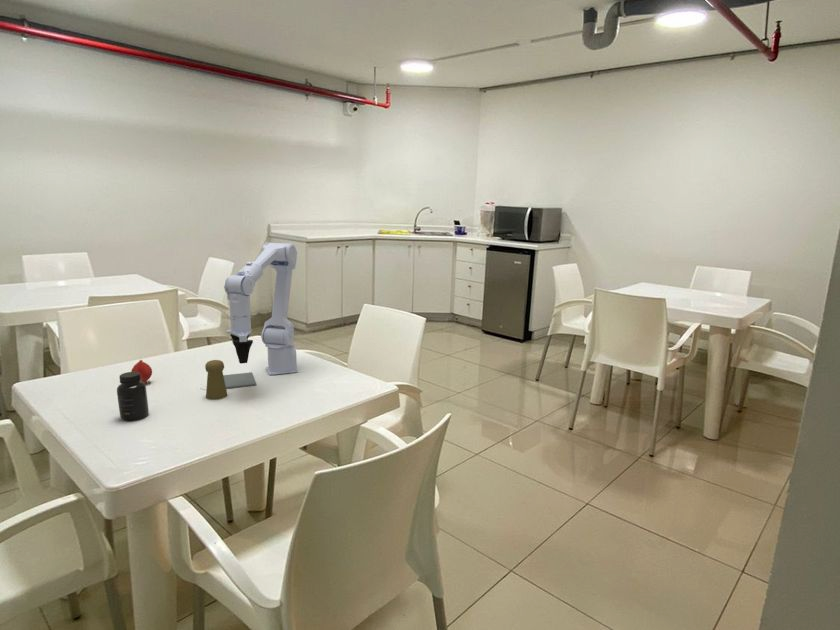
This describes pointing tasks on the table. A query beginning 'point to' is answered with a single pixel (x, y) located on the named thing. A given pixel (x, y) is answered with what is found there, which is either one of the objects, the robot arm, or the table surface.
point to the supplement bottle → (132, 397)
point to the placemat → (239, 380)
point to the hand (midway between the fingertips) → (242, 359)
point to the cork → (215, 380)
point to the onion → (143, 370)
